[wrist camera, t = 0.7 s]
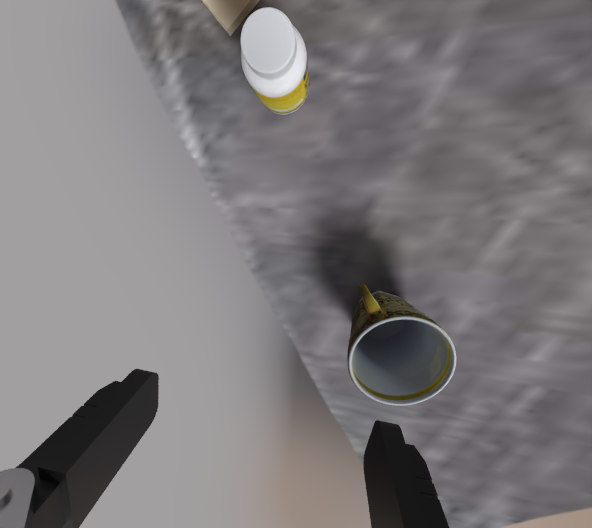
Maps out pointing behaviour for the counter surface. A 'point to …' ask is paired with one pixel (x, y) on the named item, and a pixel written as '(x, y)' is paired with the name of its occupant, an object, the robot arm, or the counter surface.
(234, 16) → the gear board
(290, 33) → the supplement bottle
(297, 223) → the counter surface
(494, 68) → the counter surface
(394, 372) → the ceramic cup
